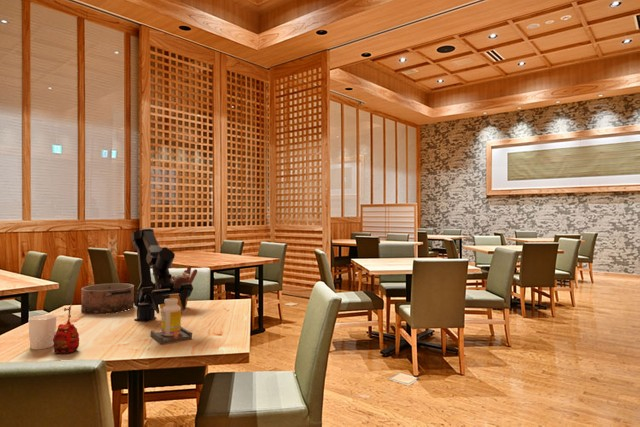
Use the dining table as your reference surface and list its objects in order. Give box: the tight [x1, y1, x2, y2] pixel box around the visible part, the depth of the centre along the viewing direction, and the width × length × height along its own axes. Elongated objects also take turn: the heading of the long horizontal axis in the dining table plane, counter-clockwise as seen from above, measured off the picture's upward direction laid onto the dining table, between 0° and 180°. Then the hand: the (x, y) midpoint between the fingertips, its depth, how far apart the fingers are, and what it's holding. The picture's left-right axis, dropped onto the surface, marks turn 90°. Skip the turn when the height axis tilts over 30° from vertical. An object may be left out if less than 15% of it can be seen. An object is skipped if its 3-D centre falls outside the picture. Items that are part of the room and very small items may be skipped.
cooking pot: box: [80, 282, 135, 315], centre depth 199 cm, size 30×22×11 cm
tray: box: [150, 326, 193, 345], centre depth 152 cm, size 12×11×3 cm
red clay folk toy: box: [52, 303, 80, 355], centre depth 136 cm, size 8×7×15 cm
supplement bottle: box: [160, 298, 182, 336], centre depth 152 cm, size 7×7×13 cm
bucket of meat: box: [154, 265, 198, 311], centre depth 201 cm, size 20×16×20 cm
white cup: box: [28, 313, 57, 351], centre depth 141 cm, size 8×8×10 cm
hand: (171, 311), depth 152 cm, fingers open, 9 cm apart
